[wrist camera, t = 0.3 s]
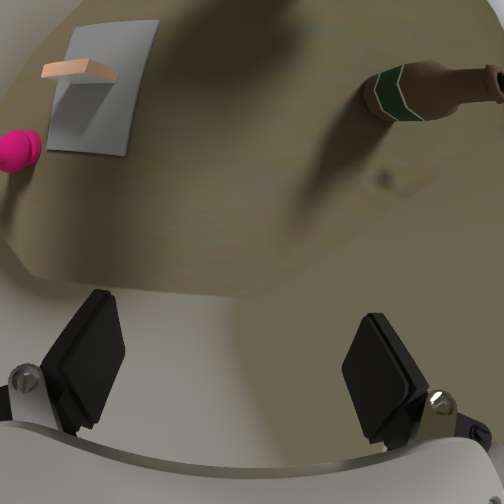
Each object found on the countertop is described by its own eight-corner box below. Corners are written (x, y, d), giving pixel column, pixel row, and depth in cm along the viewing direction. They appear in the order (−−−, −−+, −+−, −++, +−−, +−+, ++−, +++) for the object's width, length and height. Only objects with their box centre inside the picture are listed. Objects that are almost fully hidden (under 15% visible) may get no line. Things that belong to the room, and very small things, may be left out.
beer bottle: (403, 125, 34) (526, 136, 12) (361, 118, 34) (483, 115, 12) (401, 80, 31) (517, 61, 9) (358, 70, 31) (470, 27, 9)
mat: (77, 28, 24) (75, 27, 24) (160, 21, 26) (159, 19, 26) (48, 148, 33) (46, 149, 32) (125, 155, 35) (124, 156, 34)
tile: (77, 73, 28) (44, 64, 20) (118, 71, 29) (89, 58, 21) (74, 84, 29) (40, 77, 20) (115, 83, 30) (84, 72, 21)
